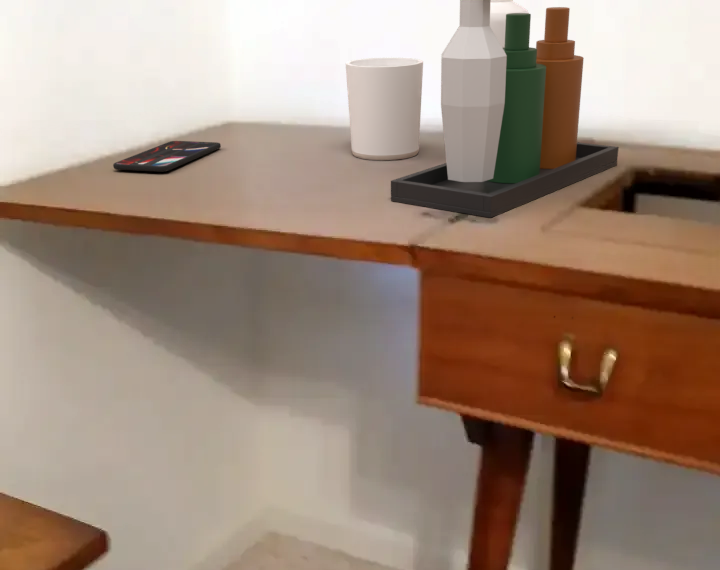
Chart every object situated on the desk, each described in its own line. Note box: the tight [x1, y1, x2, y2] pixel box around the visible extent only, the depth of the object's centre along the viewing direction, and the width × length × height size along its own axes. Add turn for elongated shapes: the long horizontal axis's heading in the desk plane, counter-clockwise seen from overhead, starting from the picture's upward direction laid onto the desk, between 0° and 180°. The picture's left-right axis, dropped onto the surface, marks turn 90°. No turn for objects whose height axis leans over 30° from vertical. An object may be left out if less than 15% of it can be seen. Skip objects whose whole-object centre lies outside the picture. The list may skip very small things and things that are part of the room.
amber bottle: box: [535, 6, 584, 169], centre depth 104 cm, size 6×6×16 cm
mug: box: [345, 57, 424, 161], centre depth 115 cm, size 11×9×10 cm
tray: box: [390, 141, 620, 219], centre depth 102 cm, size 12×27×2 cm, turn 141°
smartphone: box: [112, 140, 222, 173], centre depth 117 cm, size 7×1×15 cm
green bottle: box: [487, 12, 546, 184], centre depth 99 cm, size 6×6×16 cm
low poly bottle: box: [440, 0, 507, 182], centre depth 91 cm, size 6×6×22 cm
